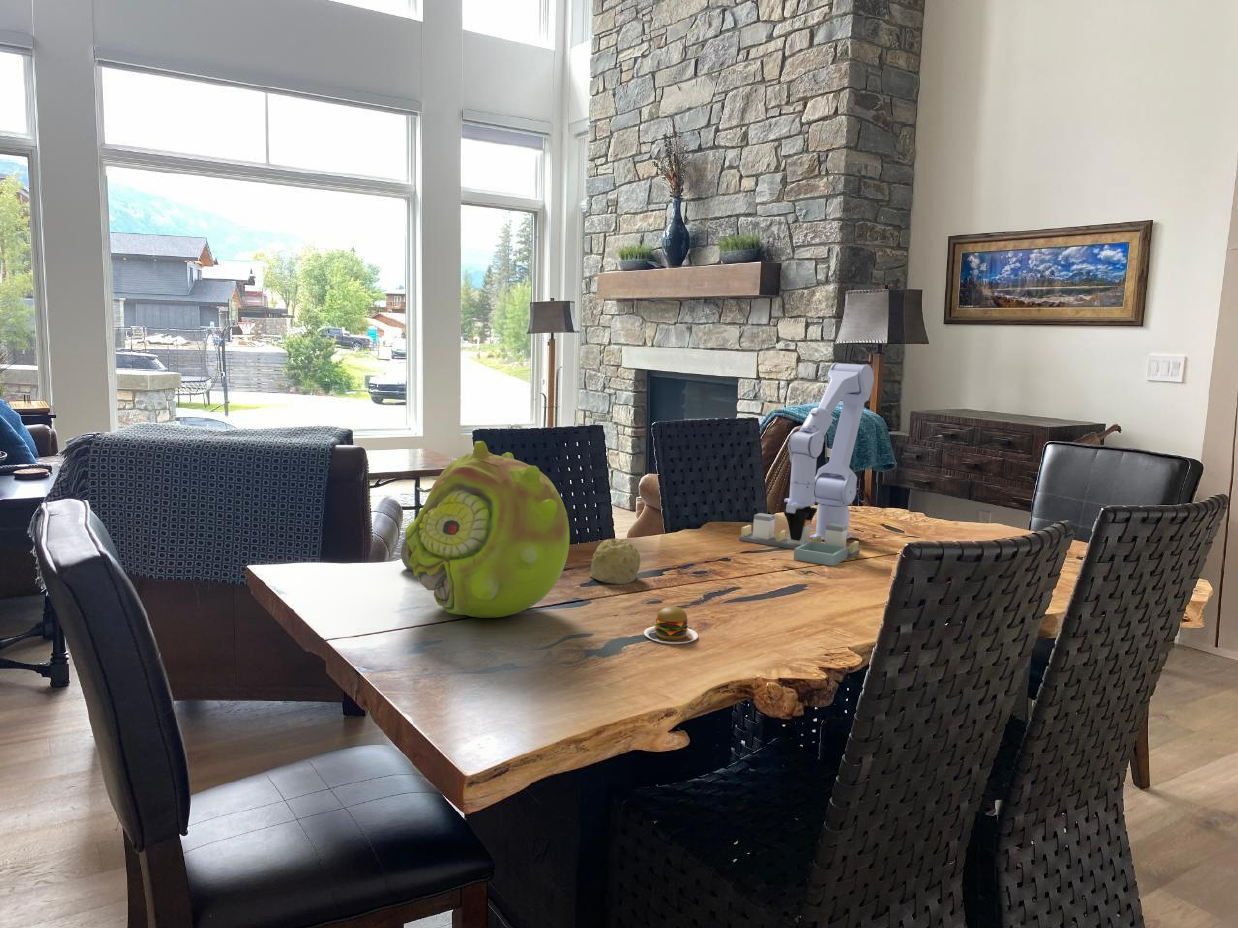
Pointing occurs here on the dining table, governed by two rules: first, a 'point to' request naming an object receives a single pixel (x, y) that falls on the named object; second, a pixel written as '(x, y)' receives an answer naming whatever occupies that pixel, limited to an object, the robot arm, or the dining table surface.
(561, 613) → the dining table surface
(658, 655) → the dining table surface
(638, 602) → the dining table surface
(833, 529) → the block
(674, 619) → the hamburger
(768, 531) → the block
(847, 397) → the robot arm
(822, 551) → the tray
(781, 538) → the block
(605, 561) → the rock
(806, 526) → the block
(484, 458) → the monster head
